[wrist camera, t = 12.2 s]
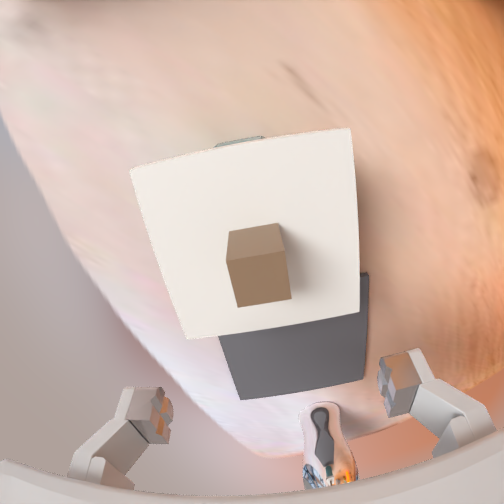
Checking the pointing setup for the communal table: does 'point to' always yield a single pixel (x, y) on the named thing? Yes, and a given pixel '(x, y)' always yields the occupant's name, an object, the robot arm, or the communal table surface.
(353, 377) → the mat
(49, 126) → the communal table surface
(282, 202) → the lid
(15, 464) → the robot arm
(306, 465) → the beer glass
